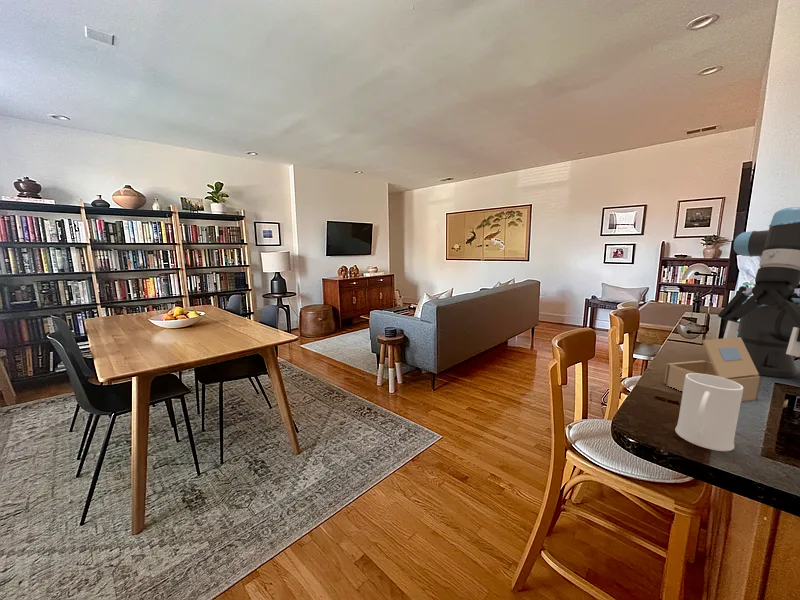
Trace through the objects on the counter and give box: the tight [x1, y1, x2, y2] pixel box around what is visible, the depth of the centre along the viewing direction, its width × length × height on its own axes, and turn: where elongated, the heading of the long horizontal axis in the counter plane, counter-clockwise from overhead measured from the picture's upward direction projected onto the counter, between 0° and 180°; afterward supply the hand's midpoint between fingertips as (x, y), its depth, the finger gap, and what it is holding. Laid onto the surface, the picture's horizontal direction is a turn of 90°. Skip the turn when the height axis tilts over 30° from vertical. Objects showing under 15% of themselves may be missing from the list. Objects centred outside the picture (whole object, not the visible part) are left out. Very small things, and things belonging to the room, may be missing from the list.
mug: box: [674, 373, 743, 452], centre depth 62 cm, size 12×8×12 cm
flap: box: [701, 337, 760, 378], centre depth 81 cm, size 13×1×10 cm, turn 104°
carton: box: [663, 359, 762, 402], centre depth 85 cm, size 15×13×6 cm
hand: (757, 349), depth 83 cm, fingers open, 13 cm apart
